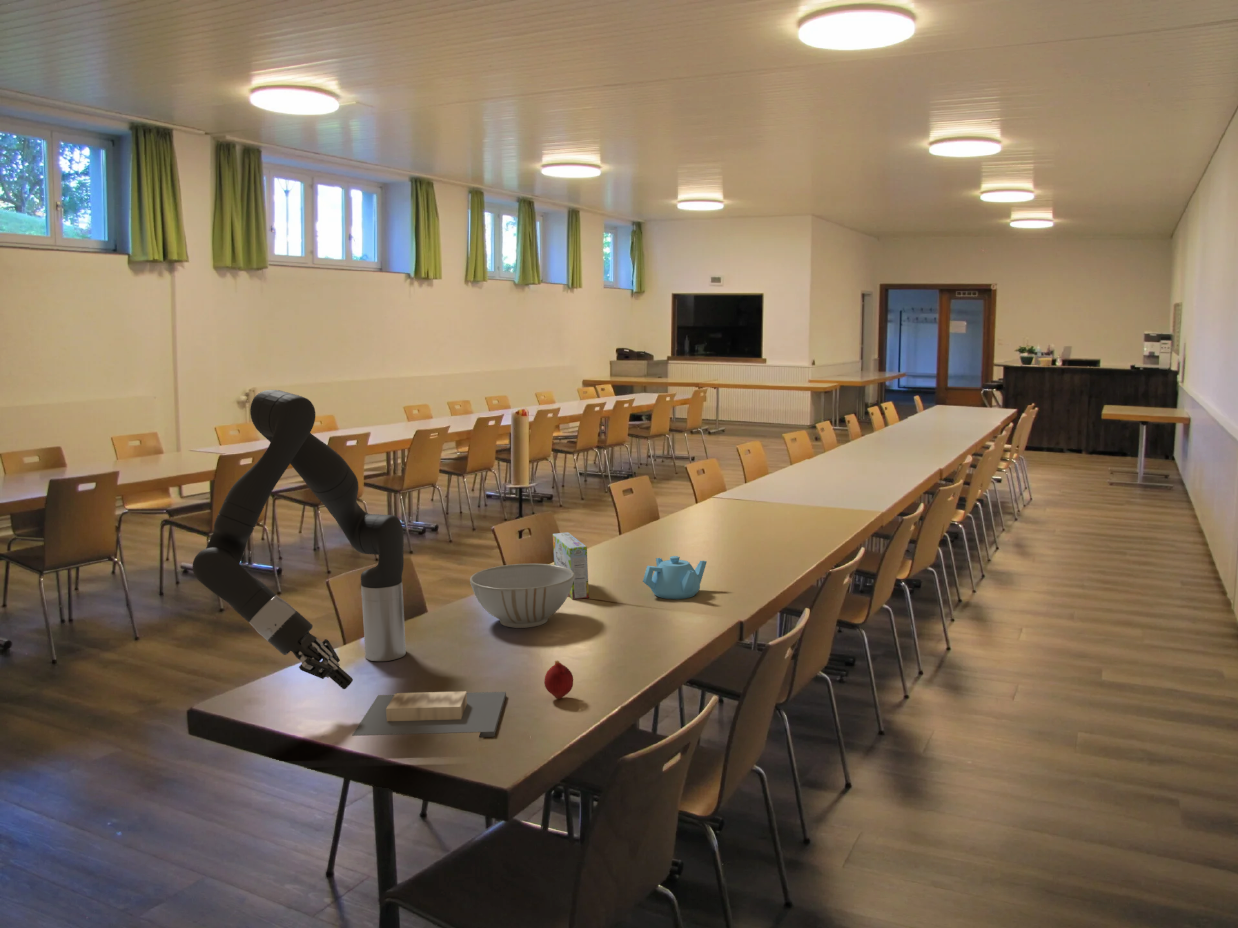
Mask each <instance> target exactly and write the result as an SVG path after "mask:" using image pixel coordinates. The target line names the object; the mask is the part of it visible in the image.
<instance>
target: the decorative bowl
mask: <svg viewBox="0 0 1238 928" xmlns="http://www.w3.org/2000/svg"><path fill="white" fill-rule="evenodd" d="M574 576H575V574H574V572H573V571H572V570H570V569H568V568H566V567H562V566H557V565H554V564H548V563H514V564H513V563H512V564H506V565H498V566H495V567H494V566H493V567H489V568H486V569H482V570H480V571H477V572H475V573H474V574H472V575H471V576H470V578H469V583H470V586H471V588H472V592H473V594H474V596H475V598H476V599H477V601H478V602H479V604H480V605H481V606H482V608H483V610H484V611H486V612H488V614H490V615H491V616H493V617H494V618H495V619H498V620H499V623H500V625H503V626H505V627H507V628H516V629H517V628H519V629H524V628H525V629H526V628H527V629H528V628H533V627H539V626H542V625H544V624H546V623H547V622H548V620H549V618H550V617H551V616H553V615H554V614H555V613H556V612H557V611H558V610H559V609H560V608H562V606H563V605H564V603H565V602H566V600H567V598H568V597H569V596H568V595H569V593H570V590H571V588H572V585H573V581H574Z"/></svg>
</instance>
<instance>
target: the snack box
mask: <svg viewBox="0 0 1238 928" xmlns="http://www.w3.org/2000/svg"><path fill="white" fill-rule="evenodd" d="M552 544H553V545H552V546H553V547H552V548H553V561H554V562H553V563H554V564H553V565H557V566H562V567H566V568H568V569H570V570H572V571H573V572H574V574H575V576H574V581H573V585H572V588H571V590H570V593H569V595H568V597H569V598H570V599H571V600H573V601H574V600H579V599H588V598H590V590H589V570H588V569H589V568H588V567H589V565H588V564H589V563H588V546H587V545H585V544H584V543H583V542H581V541H580V540H579V539H578V538H576V537H575V536H573V534H571V533H570V532H568V531H566V532H559V533H552Z"/></svg>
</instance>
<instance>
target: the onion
mask: <svg viewBox="0 0 1238 928" xmlns="http://www.w3.org/2000/svg"><path fill="white" fill-rule="evenodd" d="M543 681H544V687H545V689H546V691H548V693H549V694H551V695H552V696H553V697H554V698H555V699H557V700H561V699H562V698H564V697H565V696H567V695H568V694H569V693H570V692H571V691H572V689H573V686H574V675H573V673H572V672H571V670H570V669H569V668H568V667H567V666H566V665H564V664H562V663H561V662H560V660H558V659H555V661H554V665H552V666H551V667H550V668H549V669H548V670H547V671H546V673H545V676H544V680H543Z"/></svg>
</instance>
